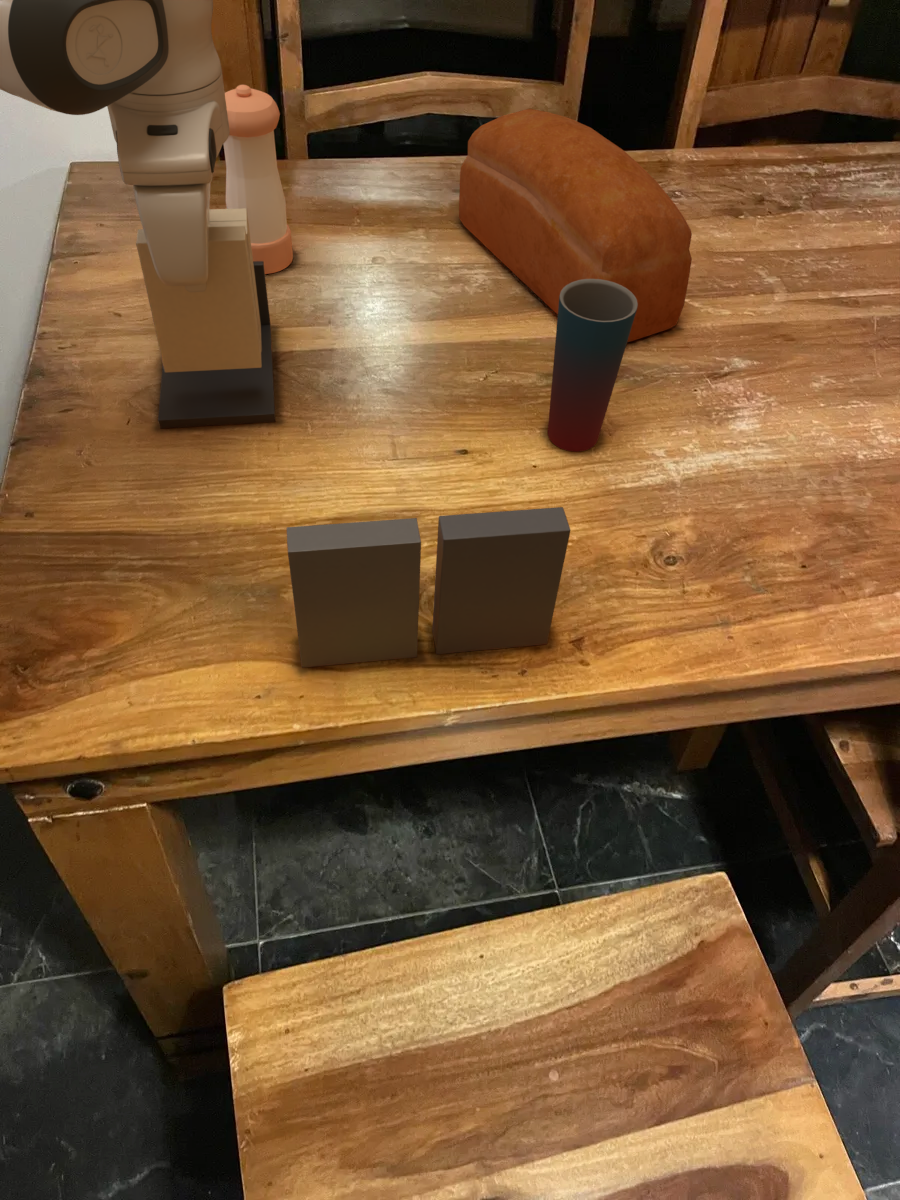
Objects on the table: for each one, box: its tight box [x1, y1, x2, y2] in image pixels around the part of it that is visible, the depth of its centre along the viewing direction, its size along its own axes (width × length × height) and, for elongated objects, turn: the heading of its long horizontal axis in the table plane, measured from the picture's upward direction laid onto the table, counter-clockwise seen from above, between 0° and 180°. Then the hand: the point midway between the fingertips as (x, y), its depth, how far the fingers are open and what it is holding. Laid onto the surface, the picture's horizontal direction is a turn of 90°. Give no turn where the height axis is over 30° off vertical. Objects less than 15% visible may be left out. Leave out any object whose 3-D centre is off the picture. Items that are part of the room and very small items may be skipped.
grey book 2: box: [431, 506, 571, 655], centre depth 70 cm, size 9×2×13 cm, turn 99°
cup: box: [547, 279, 638, 453], centre depth 86 cm, size 7×7×15 cm
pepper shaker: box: [223, 84, 294, 275], centre depth 103 cm, size 7×7×19 cm
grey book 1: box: [286, 517, 422, 668], centre depth 69 cm, size 9×2×13 cm, turn 99°
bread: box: [458, 108, 693, 343], centre depth 107 cm, size 14×33×16 cm, turn 28°
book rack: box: [157, 208, 277, 429], centre depth 90 cm, size 11×16×14 cm
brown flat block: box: [135, 226, 262, 373], centre depth 84 cm, size 9×2×13 cm, turn 99°
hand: (197, 276), depth 82 cm, fingers closed on brown flat block, 2 cm apart
